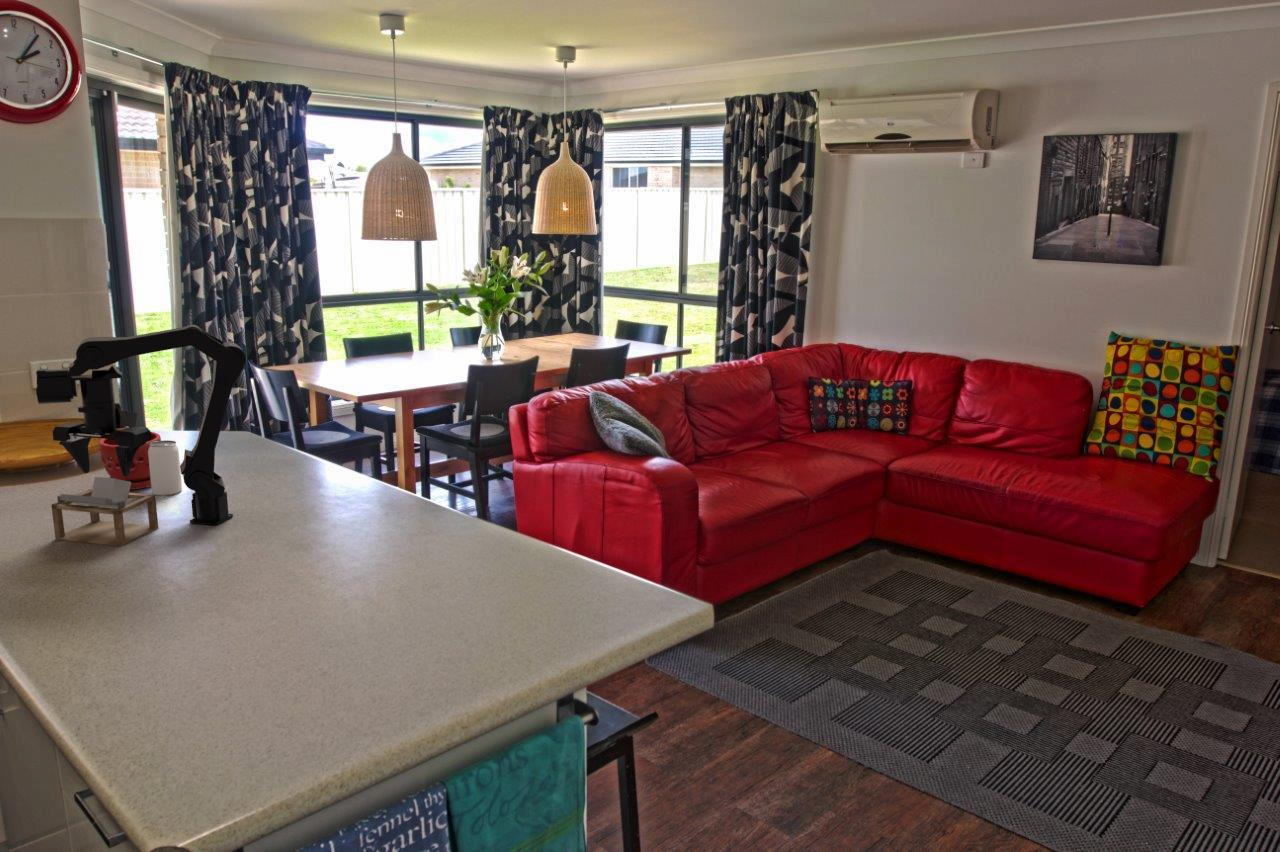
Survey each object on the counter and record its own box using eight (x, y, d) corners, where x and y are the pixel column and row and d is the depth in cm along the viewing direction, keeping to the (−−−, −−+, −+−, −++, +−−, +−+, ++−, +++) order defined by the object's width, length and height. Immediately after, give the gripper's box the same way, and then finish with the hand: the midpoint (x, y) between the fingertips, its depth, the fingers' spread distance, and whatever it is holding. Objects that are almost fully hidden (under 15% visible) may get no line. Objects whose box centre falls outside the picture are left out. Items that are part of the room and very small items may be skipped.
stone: (126, 505, 197) (131, 482, 198) (109, 502, 193) (114, 478, 193) (106, 503, 198) (111, 480, 199) (89, 500, 193) (95, 476, 194)
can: (173, 496, 221) (169, 447, 218) (146, 495, 221) (141, 446, 218) (187, 488, 227) (183, 440, 224) (160, 487, 227) (156, 439, 224)
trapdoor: (141, 511, 196) (143, 505, 197) (109, 504, 187) (110, 498, 187) (89, 506, 198) (90, 501, 199) (54, 499, 189) (56, 493, 189)
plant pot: (106, 480, 232) (101, 433, 229) (165, 475, 237) (161, 429, 234) (101, 495, 220) (96, 445, 217) (164, 489, 226) (159, 441, 223)
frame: (158, 528, 200) (154, 488, 198) (121, 546, 189) (117, 504, 187) (95, 522, 202) (90, 482, 200) (55, 539, 192) (50, 498, 190)
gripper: (166, 395, 197) (172, 467, 200) (87, 390, 200) (95, 461, 203) (128, 406, 186) (136, 482, 190) (46, 400, 189) (55, 475, 193)
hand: (106, 474), depth 194 cm, fingers open, 9 cm apart
